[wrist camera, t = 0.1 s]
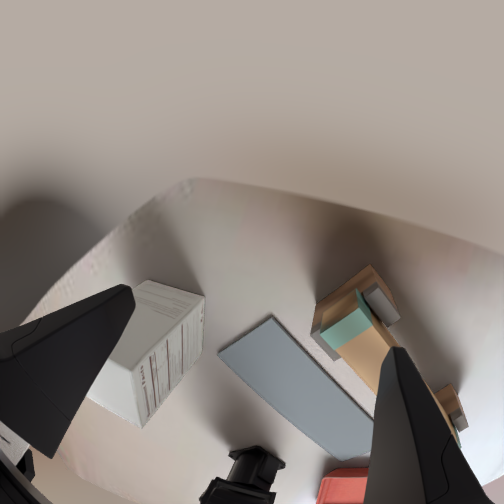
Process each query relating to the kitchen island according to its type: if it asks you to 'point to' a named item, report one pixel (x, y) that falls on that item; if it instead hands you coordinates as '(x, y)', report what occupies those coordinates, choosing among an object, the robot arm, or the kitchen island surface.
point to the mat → (300, 390)
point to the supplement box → (151, 352)
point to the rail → (362, 341)
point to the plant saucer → (343, 486)
